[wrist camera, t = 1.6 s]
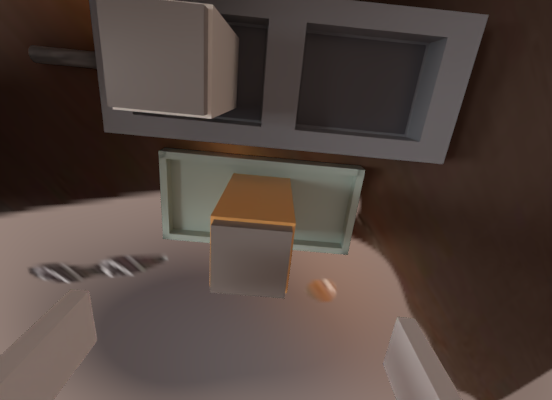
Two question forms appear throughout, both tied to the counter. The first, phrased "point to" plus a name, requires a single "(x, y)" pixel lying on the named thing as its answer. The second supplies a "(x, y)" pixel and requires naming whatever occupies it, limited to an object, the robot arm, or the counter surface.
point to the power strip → (323, 79)
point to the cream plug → (168, 57)
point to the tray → (220, 167)
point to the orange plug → (252, 237)
